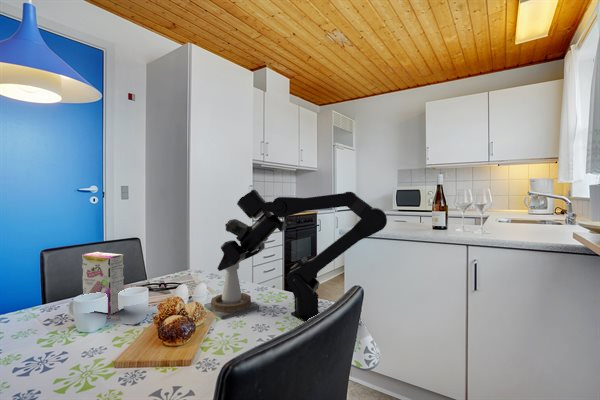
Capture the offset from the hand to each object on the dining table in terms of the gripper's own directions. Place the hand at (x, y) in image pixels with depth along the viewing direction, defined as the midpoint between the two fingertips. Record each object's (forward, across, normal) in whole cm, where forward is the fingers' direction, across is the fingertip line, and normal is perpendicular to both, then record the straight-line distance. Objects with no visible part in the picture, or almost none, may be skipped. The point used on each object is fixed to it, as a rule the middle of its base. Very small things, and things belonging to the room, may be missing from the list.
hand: (226, 266), depth 89 cm
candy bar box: (+33, +11, -15) cm, 38 cm away
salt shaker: (+7, 0, +10) cm, 12 cm away
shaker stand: (+8, 0, +10) cm, 12 cm away
